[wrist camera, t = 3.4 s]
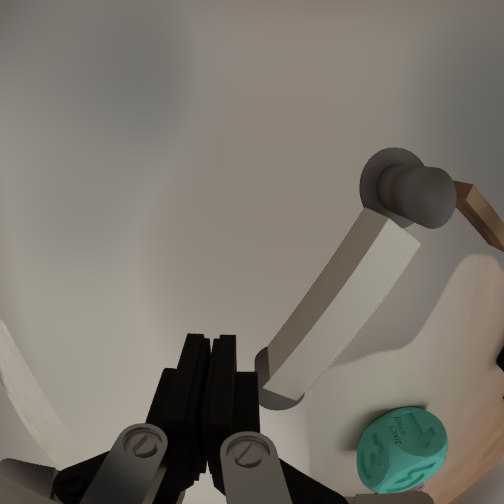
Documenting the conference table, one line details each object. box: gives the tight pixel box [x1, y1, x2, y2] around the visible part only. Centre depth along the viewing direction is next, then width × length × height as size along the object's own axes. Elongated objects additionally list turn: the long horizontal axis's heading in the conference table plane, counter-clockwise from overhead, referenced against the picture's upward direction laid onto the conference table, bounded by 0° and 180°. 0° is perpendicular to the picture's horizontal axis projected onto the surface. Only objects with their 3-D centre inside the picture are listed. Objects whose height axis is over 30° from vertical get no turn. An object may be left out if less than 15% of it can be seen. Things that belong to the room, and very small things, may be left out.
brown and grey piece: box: [360, 148, 504, 252], centre depth 18 cm, size 15×7×5 cm, turn 59°
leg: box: [255, 207, 421, 410], centre depth 20 cm, size 16×4×4 cm, turn 149°
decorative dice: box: [357, 407, 448, 494], centre depth 24 cm, size 8×8×8 cm
